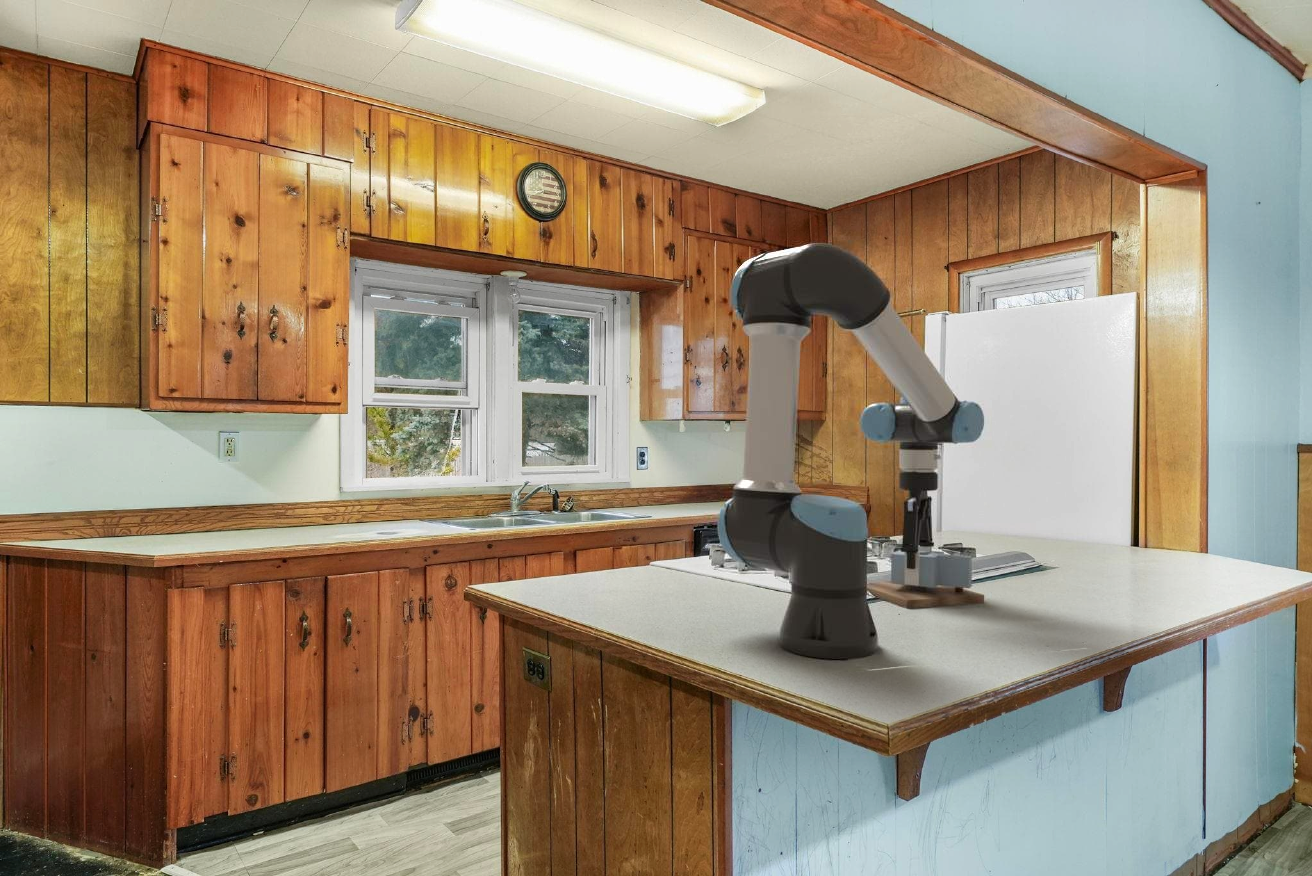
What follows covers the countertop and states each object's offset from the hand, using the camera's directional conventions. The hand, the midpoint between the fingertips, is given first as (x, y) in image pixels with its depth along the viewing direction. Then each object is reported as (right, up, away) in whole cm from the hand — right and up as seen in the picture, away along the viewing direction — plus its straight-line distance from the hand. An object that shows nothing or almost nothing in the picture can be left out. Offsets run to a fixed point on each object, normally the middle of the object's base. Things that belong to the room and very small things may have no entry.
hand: (917, 581), depth 165 cm
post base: (0, -3, 0) cm, 3 cm away
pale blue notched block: (+3, 0, -2) cm, 3 cm away
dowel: (+8, -2, -2) cm, 8 cm away
